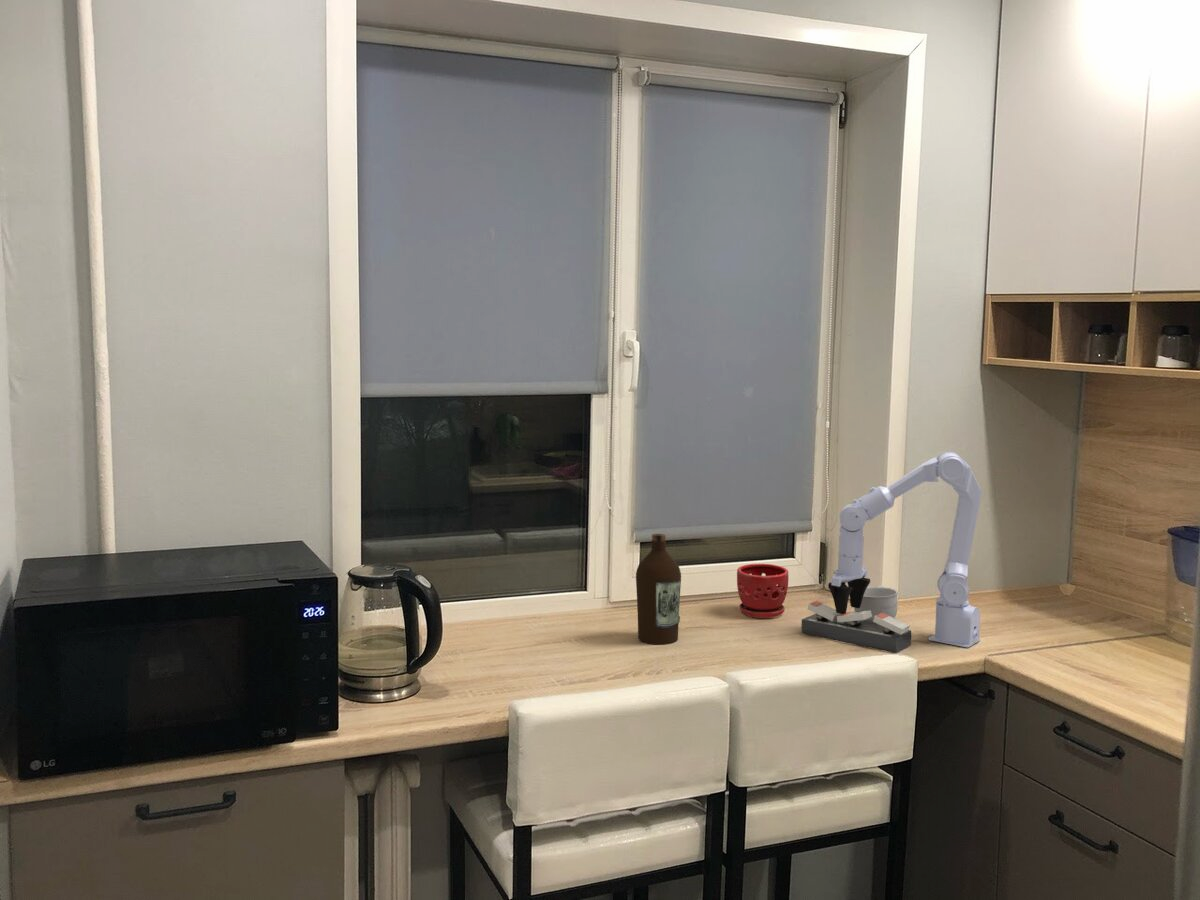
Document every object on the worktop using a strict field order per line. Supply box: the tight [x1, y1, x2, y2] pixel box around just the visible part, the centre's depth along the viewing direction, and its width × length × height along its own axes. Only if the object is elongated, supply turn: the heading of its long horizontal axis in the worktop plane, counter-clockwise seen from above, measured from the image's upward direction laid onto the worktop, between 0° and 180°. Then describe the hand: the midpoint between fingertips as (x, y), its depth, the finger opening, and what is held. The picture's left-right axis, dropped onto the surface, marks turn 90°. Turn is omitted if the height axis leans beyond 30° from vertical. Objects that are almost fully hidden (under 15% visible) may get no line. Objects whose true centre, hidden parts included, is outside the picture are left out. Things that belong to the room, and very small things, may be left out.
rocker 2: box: [837, 611, 872, 622], centre depth 239 cm, size 7×4×2 cm, turn 49°
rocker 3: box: [873, 613, 910, 635], centre depth 233 cm, size 7×4×2 cm, turn 50°
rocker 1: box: [807, 600, 840, 621], centre depth 244 cm, size 7×4×2 cm, turn 50°
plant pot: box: [736, 563, 789, 619], centre depth 260 cm, size 13×13×12 cm
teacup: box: [853, 585, 899, 624], centre depth 255 cm, size 14×11×8 cm
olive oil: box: [635, 533, 682, 645], centre depth 238 cm, size 11×11×25 cm
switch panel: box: [801, 613, 912, 654], centre depth 239 cm, size 24×8×5 cm, turn 49°
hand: (848, 610), depth 243 cm, fingers open, 7 cm apart
